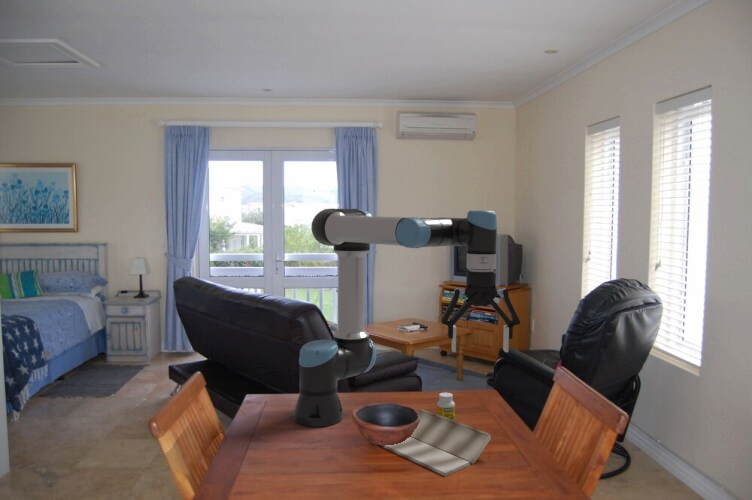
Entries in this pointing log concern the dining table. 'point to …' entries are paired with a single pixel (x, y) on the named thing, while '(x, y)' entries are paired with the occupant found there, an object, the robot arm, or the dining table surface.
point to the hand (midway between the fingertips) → (479, 351)
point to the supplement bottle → (446, 406)
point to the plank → (451, 436)
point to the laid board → (428, 456)
